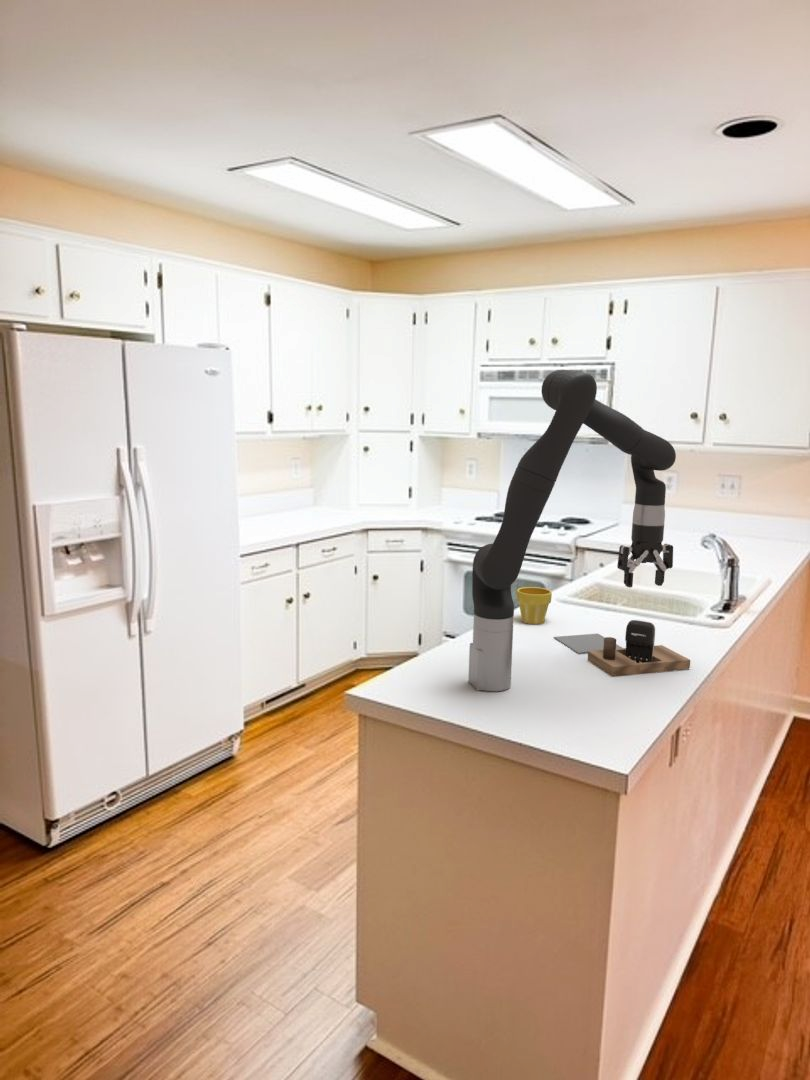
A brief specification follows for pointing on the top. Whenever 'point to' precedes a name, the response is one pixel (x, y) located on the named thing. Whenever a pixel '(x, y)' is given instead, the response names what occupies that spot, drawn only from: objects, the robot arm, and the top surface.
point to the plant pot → (533, 604)
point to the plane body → (621, 665)
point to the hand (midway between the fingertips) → (643, 585)
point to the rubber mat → (583, 642)
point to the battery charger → (640, 641)
